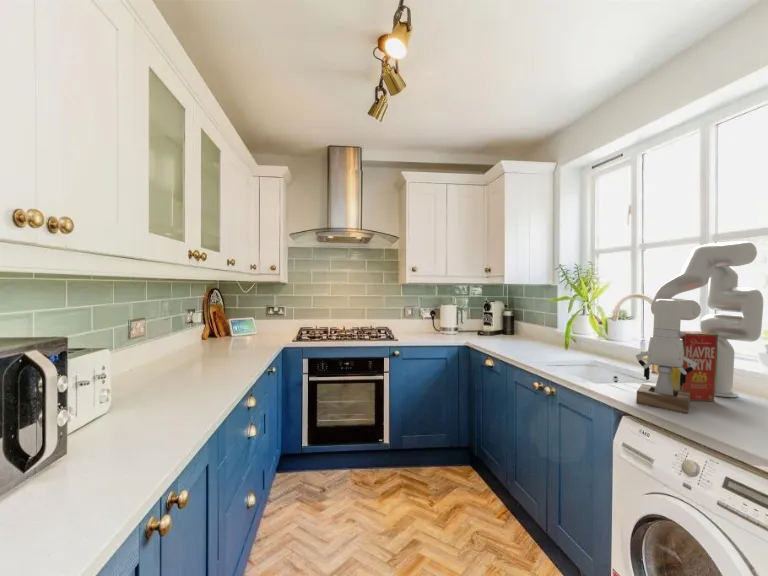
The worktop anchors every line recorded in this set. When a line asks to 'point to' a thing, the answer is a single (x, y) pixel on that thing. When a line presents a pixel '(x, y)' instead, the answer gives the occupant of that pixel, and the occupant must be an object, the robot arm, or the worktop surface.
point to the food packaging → (698, 366)
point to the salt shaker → (664, 381)
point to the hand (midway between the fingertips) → (664, 382)
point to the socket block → (663, 399)
